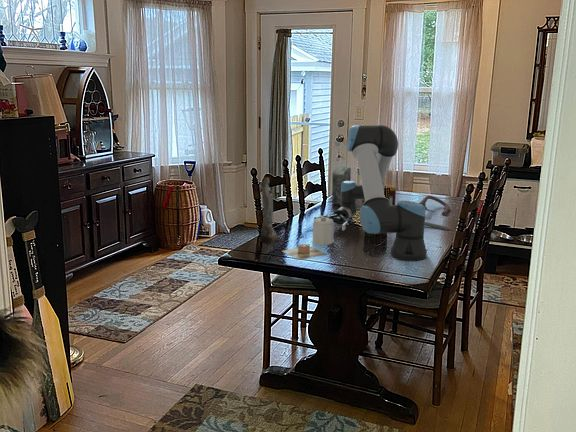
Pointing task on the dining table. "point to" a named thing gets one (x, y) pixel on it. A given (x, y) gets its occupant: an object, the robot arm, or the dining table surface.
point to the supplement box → (392, 194)
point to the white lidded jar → (323, 231)
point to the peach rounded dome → (303, 249)
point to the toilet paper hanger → (437, 201)
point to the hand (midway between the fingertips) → (328, 226)
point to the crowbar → (436, 226)
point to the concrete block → (339, 182)
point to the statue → (267, 214)
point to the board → (298, 256)
